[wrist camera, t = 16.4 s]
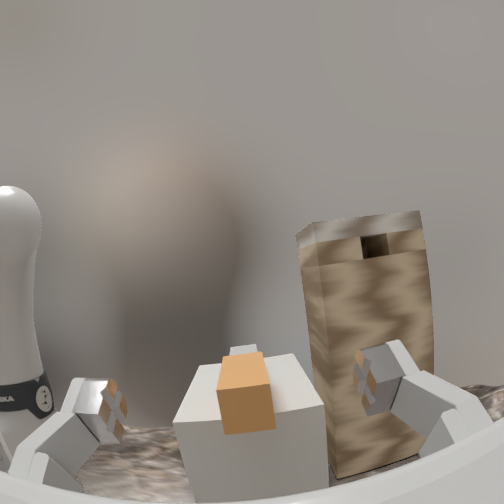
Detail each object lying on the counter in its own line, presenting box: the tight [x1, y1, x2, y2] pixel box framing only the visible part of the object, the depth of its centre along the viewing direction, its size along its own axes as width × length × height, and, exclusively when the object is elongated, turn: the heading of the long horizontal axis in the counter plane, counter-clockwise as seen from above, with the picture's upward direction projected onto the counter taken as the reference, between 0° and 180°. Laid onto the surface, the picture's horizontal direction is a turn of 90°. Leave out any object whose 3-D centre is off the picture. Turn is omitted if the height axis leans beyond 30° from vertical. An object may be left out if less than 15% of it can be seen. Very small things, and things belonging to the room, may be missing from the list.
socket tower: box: [296, 211, 434, 479], centre depth 34 cm, size 12×10×28 cm
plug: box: [216, 344, 276, 435], centre depth 23 cm, size 3×13×3 cm, turn 2°
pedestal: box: [173, 353, 329, 503], centre depth 25 cm, size 10×14×16 cm
